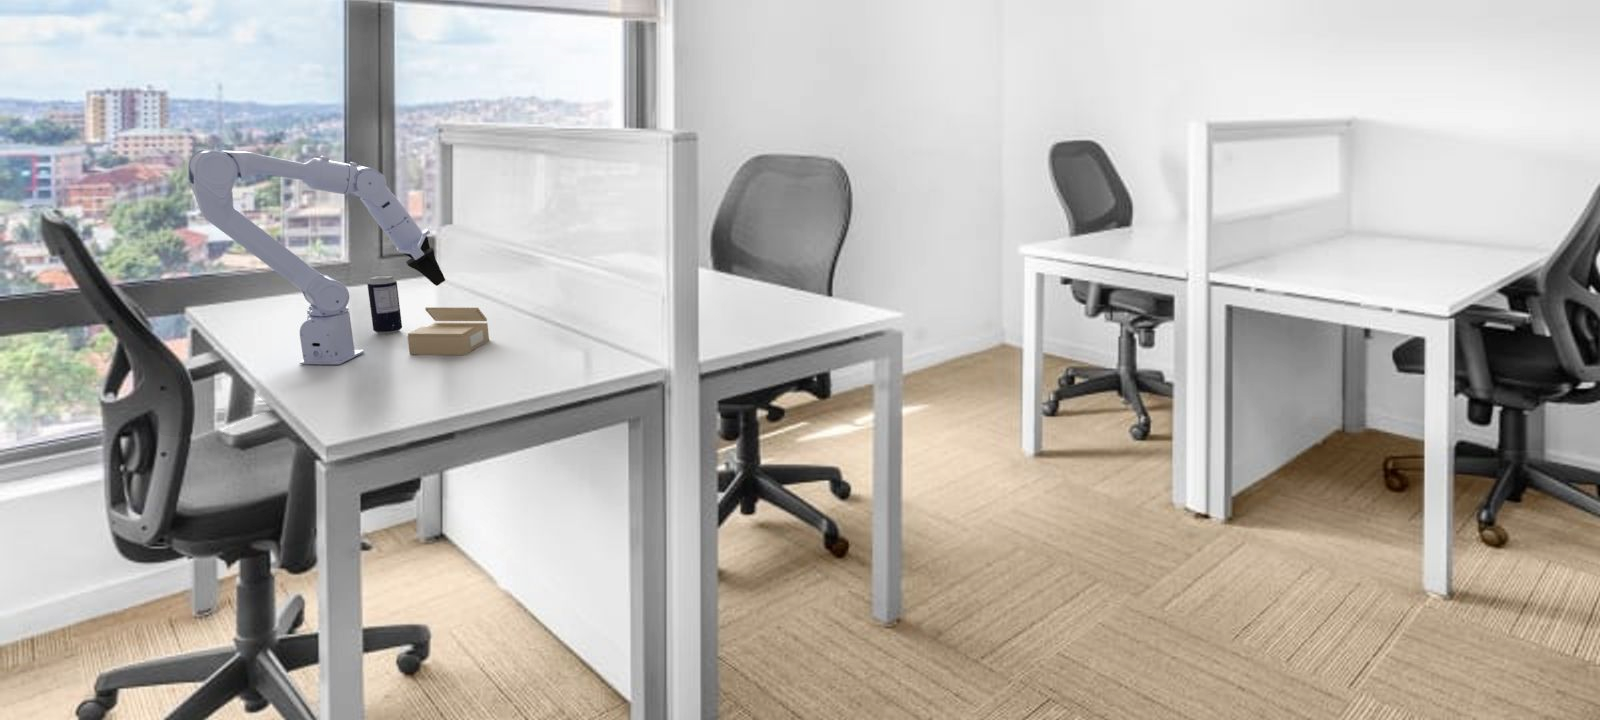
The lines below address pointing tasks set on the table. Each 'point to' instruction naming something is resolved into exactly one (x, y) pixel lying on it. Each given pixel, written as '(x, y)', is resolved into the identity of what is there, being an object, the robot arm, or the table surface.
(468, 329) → the carton
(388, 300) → the beverage can
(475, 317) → the flap
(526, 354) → the table surface
